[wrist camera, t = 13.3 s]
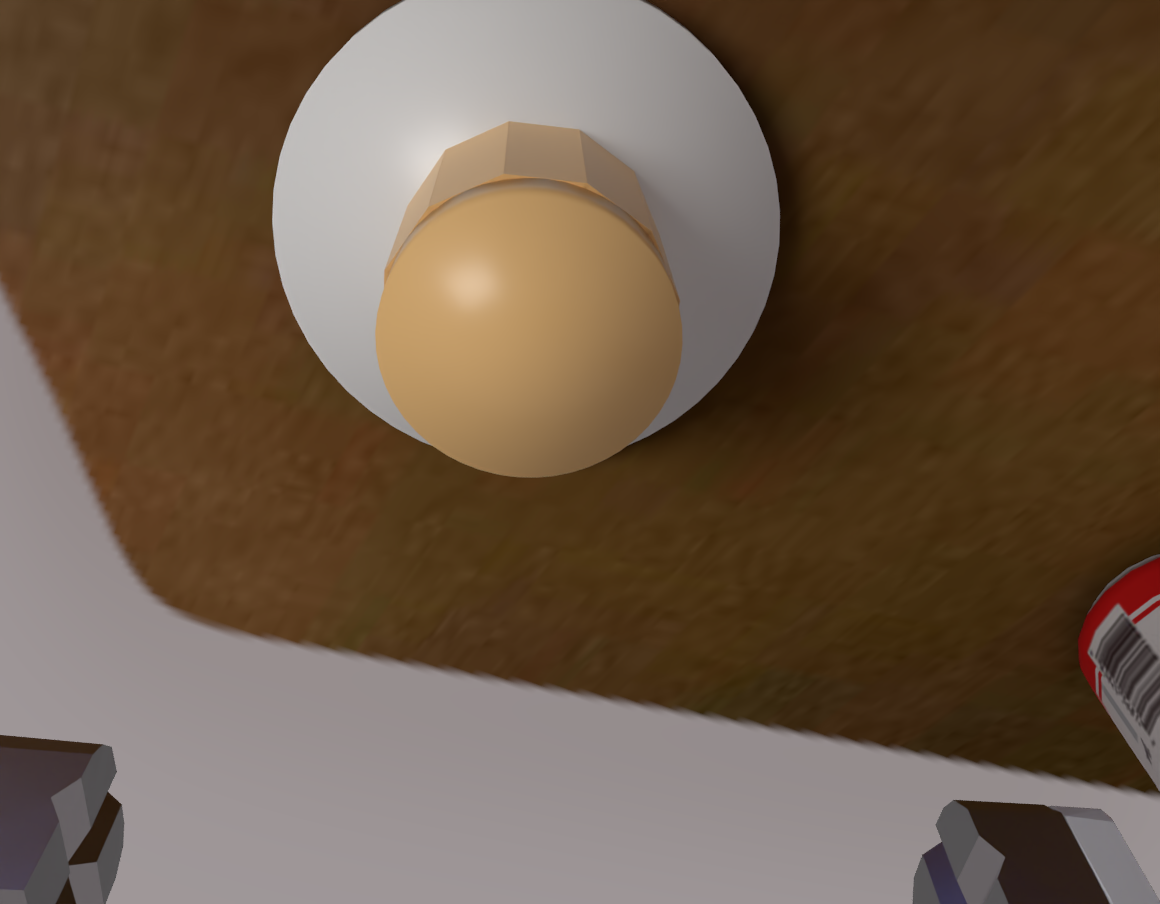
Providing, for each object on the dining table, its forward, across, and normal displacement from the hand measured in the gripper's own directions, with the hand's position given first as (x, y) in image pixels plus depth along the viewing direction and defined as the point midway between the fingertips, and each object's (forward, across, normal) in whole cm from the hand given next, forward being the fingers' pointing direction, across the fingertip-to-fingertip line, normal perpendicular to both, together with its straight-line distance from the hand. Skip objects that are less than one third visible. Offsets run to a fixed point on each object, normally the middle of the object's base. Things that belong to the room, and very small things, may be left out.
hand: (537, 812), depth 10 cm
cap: (+17, 0, 0) cm, 17 cm away
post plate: (+18, 0, 0) cm, 18 cm away
